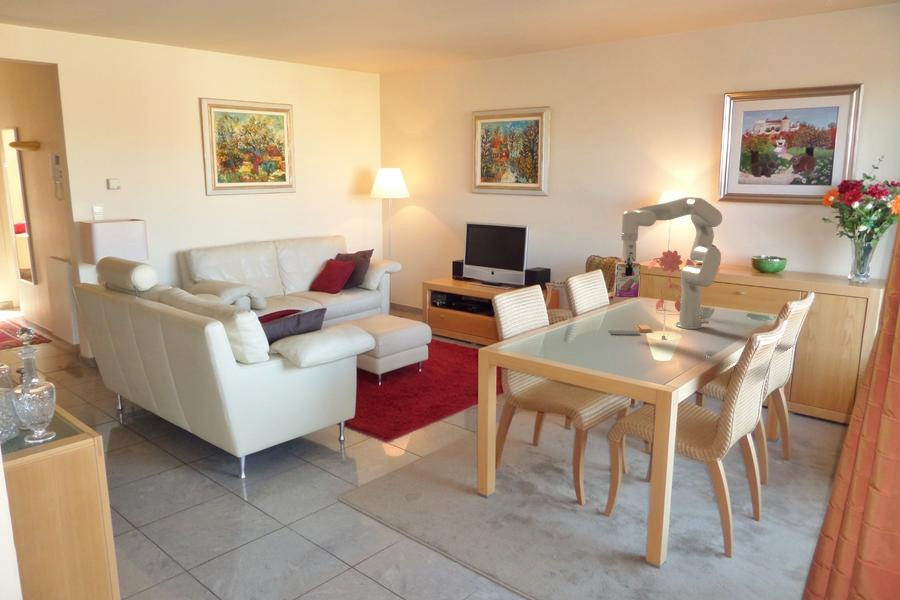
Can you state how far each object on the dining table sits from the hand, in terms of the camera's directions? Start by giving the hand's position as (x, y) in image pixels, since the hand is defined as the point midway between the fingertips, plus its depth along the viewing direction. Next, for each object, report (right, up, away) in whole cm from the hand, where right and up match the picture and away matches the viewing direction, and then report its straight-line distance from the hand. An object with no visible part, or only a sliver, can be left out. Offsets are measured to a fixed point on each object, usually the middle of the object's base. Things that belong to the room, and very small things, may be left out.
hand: (627, 274), depth 318 cm
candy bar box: (0, -11, +2) cm, 11 cm away
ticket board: (+11, -27, +12) cm, 32 cm away
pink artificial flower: (+37, -19, +54) cm, 68 cm away
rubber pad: (0, -29, +6) cm, 29 cm away
